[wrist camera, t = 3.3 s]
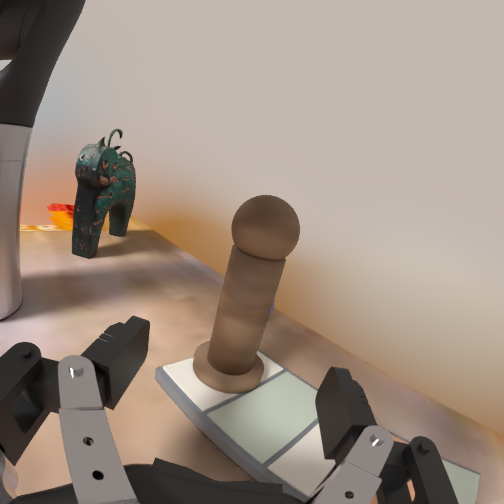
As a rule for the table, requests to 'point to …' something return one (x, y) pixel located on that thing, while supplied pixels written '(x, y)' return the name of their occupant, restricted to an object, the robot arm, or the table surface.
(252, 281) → the pawn
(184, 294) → the table surface
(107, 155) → the ceramic cat
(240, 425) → the game board
